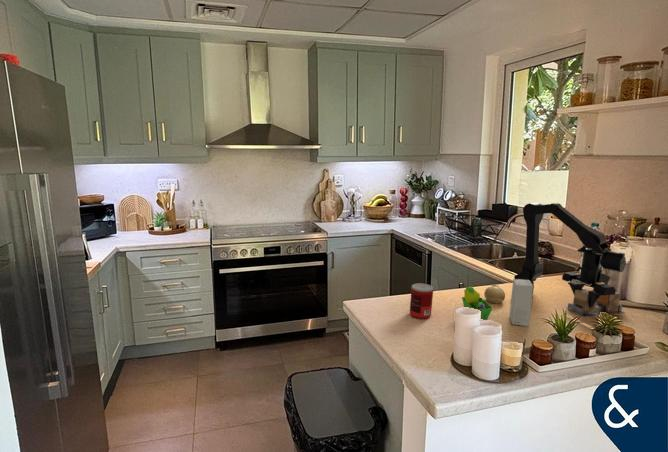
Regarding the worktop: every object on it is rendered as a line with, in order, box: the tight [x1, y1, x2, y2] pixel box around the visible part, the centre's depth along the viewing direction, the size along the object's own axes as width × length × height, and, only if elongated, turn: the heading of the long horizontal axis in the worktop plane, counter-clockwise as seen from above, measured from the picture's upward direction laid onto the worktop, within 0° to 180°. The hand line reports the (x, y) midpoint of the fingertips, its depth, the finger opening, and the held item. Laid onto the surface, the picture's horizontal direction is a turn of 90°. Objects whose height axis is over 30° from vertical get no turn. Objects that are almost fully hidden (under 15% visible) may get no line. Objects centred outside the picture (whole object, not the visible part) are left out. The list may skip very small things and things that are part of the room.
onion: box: [483, 283, 506, 304], centre depth 165 cm, size 8×8×7 cm
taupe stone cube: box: [596, 291, 622, 312], centre depth 158 cm, size 6×5×7 cm
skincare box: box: [509, 278, 534, 328], centre depth 145 cm, size 8×6×15 cm
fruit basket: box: [461, 286, 494, 321], centre depth 150 cm, size 11×9×11 cm
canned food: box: [409, 282, 434, 320], centre depth 148 cm, size 8×8×11 cm
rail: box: [564, 302, 626, 318], centre depth 157 cm, size 20×9×3 cm, turn 106°
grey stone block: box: [572, 288, 597, 312], centre depth 155 cm, size 6×5×7 cm
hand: (584, 304), depth 156 cm, fingers closed on grey stone block, 5 cm apart
